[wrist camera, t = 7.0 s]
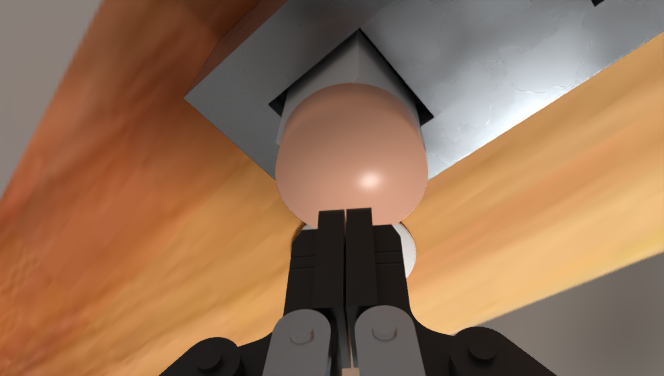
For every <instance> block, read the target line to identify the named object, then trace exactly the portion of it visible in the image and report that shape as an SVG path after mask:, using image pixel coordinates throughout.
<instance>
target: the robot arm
mask: <svg viewBox="0 0 664 376" xmlns="http://www.w3.org/2000/svg"><path fill="white" fill-rule="evenodd" d="M289 269H290V271H289V276H288V283H287V291H286V299H285V307H284V314H283V317H282V318H281V319H280V320H279V321H278V322H277V324H276V325H275V327H274V329H273V331H272V332H271V333H270V334H269V335H267V336H266V337H264V338H262V339H260V340H257V341H254V342H251V343H248V344H245V345H242V346H239V347H237V346H236V344H235V343H234V342H232V341H231V340H229V339H226V338H222V337H213V338H208V339H205V340H203V341H200V342H198V343H197V344H195V345H194V346H192V347H191V348H190V349H189V350H188V351H187V352H185V353H184V354H183V355H182V356H181V357H180V358H178V359H177V360H176V361H175V362H174V363H173V364H172V365H170V366H169V367H168V368H167V369H166V370H165V371H163V372H162V373H161V374H160V375H159V376H342V369H345V368H351V350H352V358H353V366H354V368H359V376H556V375H555V374H554V373H553V372H551V371H549V369H547V368H546V367H545V366H543V365H542V364H541V363H539V362H538V361H537V360H535V359H534V358H533V357H531V356H530V355H529V354H527V353H526V352H524V351H523V350H522V349H521V348H519V347H518V346H517V345H515V344H514V343H513V342H511V341H510V340H509V339H507V338H506V337H505V336H503V335H502V334H500V333H499V332H497V331H495V330H493V329H489V328H485V327H470V328H466V329H463V330H461V331H460V332H458V333H457V334H456V335H455V336H451V335H446V334H442V333H438V332H435V331H432V330H430V329H428V328H426V327H424V326H423V325H422V324H420V323H419V322H418V321H417V320H416V319H415V317H414V316H413V314H412V312H411V309H410V304H409V296H408V289H407V281H406V273H405V266H404V258H403V251H402V243H401V236H400V235H399V233H398V232H397V231H396V229H395V228H394V227H393V226H392V224H386V225H373V222H372V207H368V208H353V209H346V217H345V210H344V209H339V210H323V211H319V214H318V228H317V229H306V230H301V231H300V233H299V234H298V236H297V237H296V239H295V240H294V242H293V244H292V252H291V260H290V268H289Z"/></svg>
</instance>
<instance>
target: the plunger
mask: <svg viewBox="0 0 664 376" xmlns="http://www.w3.org/2000/svg"><path fill="white" fill-rule="evenodd" d="M276 143H277V144H278V145H279V146H280V148H279V152H278V157H277V161H276V167H275V178H276V184H277V188H278V191H279V194H280V196H281V198H282V200H283V201H284V203H285V205H286V206H287V207H288V208H289V210H290V211H291V212H292V213H293V214H294V215H295V216H296V217H298V218H299V219H300V220H302V221H303V222H305V223H306V224H308V225H310V226H311V227H314V228H316V229H317V228H318V214H319V211H323V210H339V209H344V210H345V217H346V209H353V208H368V207H372V222H373V225H386V224H392V226H394V225H396V224H397V223H399V222H400V221H402V220H403V219H405V218H406V217H407V216H408V215H409V214H410V213H411V212H412V211H413V210H414V209H415V208H416V207H417V205H418V204H419V202H420V200H421V199H422V197H423V195H424V192H425V189H426V186H427V181H428V164H427V159H426V154H427V152H426V148H425V144H424V139H423V135H422V130H421V126H420V122H419V117H418V113H417V108H416V104H415V100H414V95H413V94H412V93H411V92H410V91H409V89H408V88H407V87H406V86H405V85H404V83H403V82H402V81H401V80H400V79H399V77H398V76H397V75H396V74H395V73H394V71H393V70H392V69H391V68H390V67H389V65H388V64H387V63H386V62H385V61H384V60H383V58H382V57H381V56H380V55H379V54H378V52H377V51H376V50H375V49H374V48H373V46H372V45H371V44H370V43H369V42H368V40H367V39H366V38H365V37H364V36H363V34H362V33H361V32H360V31H359V30H358V29H357V30H356V31H355V32H354V33H353V34H351V35H350V36H349V37H348V38H347V39H345V40H344V41H343V42H342V43H341V44H339V45H338V46H337V47H336V48H335V49H333V50H332V51H331V52H330V53H329V54H327V55H326V56H325V57H324V58H323V59H321V60H320V61H319V62H318V63H317V64H315V65H314V66H313V67H312V68H311V69H309V70H308V71H307V72H306V73H305V74H303V75H302V76H301V77H300V78H299V79H297V80H296V81H295V82H294V83H293V84H291V85H290V86H289V89H288V93H287V97H286V101H285V105H284V110H283V114H282V118H281V122H280V126H279V130H278V134H277V138H276Z"/></svg>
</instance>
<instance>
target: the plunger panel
mask: <svg viewBox="0 0 664 376" xmlns="http://www.w3.org/2000/svg"><path fill="white" fill-rule="evenodd" d="M357 29H358V30H359V31H360V32H361V33H362V34H363V36H364V37H365V38H366V39H367V40H368V42H369V43H370V44H371V45H372V46H373V48H374V49H375V50H376V51H377V52H378V54H379V55H380V56H381V57H382V58H383V60H384V61H385V62H386V63H387V64H388V65H389V67H390V68H391V69H392V70H393V71H394V73H395V74H396V75H397V76H398V77H399V79H400V80H401V81H402V82H403V83H404V85H405V86H406V87H407V88H408V89H409V91H410V92H411V93H412V94H413V95H414V100H415V104H416V108H417V113H418V117H419V122H420V126H421V130H422V135H423V139H424V144H425V148H426V152H427V154H426V159H427V164H428V180H429V179H431V178H433V177H434V176H436V175H437V174H439V173H441V172H442V171H444V170H445V169H447V168H448V167H450V166H452V165H453V164H455V163H456V162H458V161H459V160H461V159H463V158H464V157H466V156H467V155H469V154H471V153H472V152H474V151H475V150H477V149H478V148H480V147H482V146H483V145H485V144H486V143H488V142H490V141H491V140H493V139H494V138H496V137H497V136H499V135H501V134H502V133H504V132H505V131H507V130H509V129H510V128H512V127H513V126H515V125H516V124H518V123H520V122H521V121H523V120H524V119H526V118H528V117H529V116H531V115H532V114H534V113H535V112H537V111H539V110H540V109H542V108H543V107H545V106H546V105H548V104H550V103H551V102H553V101H554V100H556V99H558V98H559V97H561V96H562V95H564V94H565V93H567V92H569V91H570V90H572V89H573V88H575V87H577V86H578V85H580V84H581V83H583V82H584V81H586V80H588V79H589V78H591V77H592V76H594V75H596V74H597V73H599V72H600V71H602V70H603V69H605V68H607V67H608V66H610V65H611V64H613V63H615V62H616V61H618V60H619V59H621V58H622V57H624V56H626V55H627V54H629V53H630V52H632V51H634V50H635V49H637V48H638V47H640V46H641V45H643V44H645V43H646V42H648V41H649V40H651V39H652V38H654V37H656V36H657V35H659V34H660V33H662V32H664V0H260V1H259V2H258V3H257V4H256V5H255V6H254V7H253V8H252V9H251V10H250V11H249V12H248V13H247V14H246V15H245V16H244V17H243V18H242V19H241V20H240V21H239V22H238V23H237V24H236V25H234V26H233V27H232V28H231V29H230V30H229V31H228V32H227V33H226V34H225V35H224V36H223V37H222V38H221V39H220V40H219V41H218V43H217V45H216V46H215V48H214V49H213V51H212V53H211V54H210V56H209V58H208V59H207V61H206V62H205V64H204V66H203V67H202V69H201V70H200V72H199V74H198V75H197V77H196V79H195V80H194V82H193V83H192V85H191V87H190V88H189V90H188V91H187V93H186V95H185V96H184V99H185V100H186V101H187V102H189V103H190V104H191V105H192V106H193V107H194V108H195V109H196V110H197V111H199V112H200V113H201V114H202V115H203V116H204V117H205V118H206V119H208V120H209V121H210V122H211V123H212V124H213V125H214V126H215V127H216V128H218V129H219V130H220V131H221V132H222V133H223V134H224V135H225V136H227V137H228V138H229V139H230V140H231V141H232V142H233V143H234V144H235V145H237V146H238V147H239V148H240V149H241V150H242V151H243V152H244V153H246V154H247V155H248V156H249V157H250V158H251V159H252V160H253V161H254V162H256V163H257V164H258V165H259V166H260V167H261V168H262V169H263V170H265V171H266V172H267V173H268V174H269V175H270V176H271V177H272V178H273V179H275V180H276V178H275V167H276V161H277V157H278V152H279V148H280V146H279V145H278V144H277V143H276V138H277V134H278V130H279V126H280V122H281V118H282V114H283V110H284V105H285V101H286V97H287V93H288V89H289V86H290V85H291V84H293V83H294V82H295V81H296V80H297V79H299V78H300V77H301V76H302V75H303V74H305V73H306V72H307V71H308V70H309V69H311V68H312V67H313V66H314V65H315V64H317V63H318V62H319V61H320V60H321V59H323V58H324V57H325V56H326V55H327V54H329V53H330V52H331V51H332V50H333V49H335V48H336V47H337V46H338V45H339V44H341V43H342V42H343V41H344V40H345V39H347V38H348V37H349V36H350V35H351V34H353V33H354V32H355V31H356V30H357Z"/></svg>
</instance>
